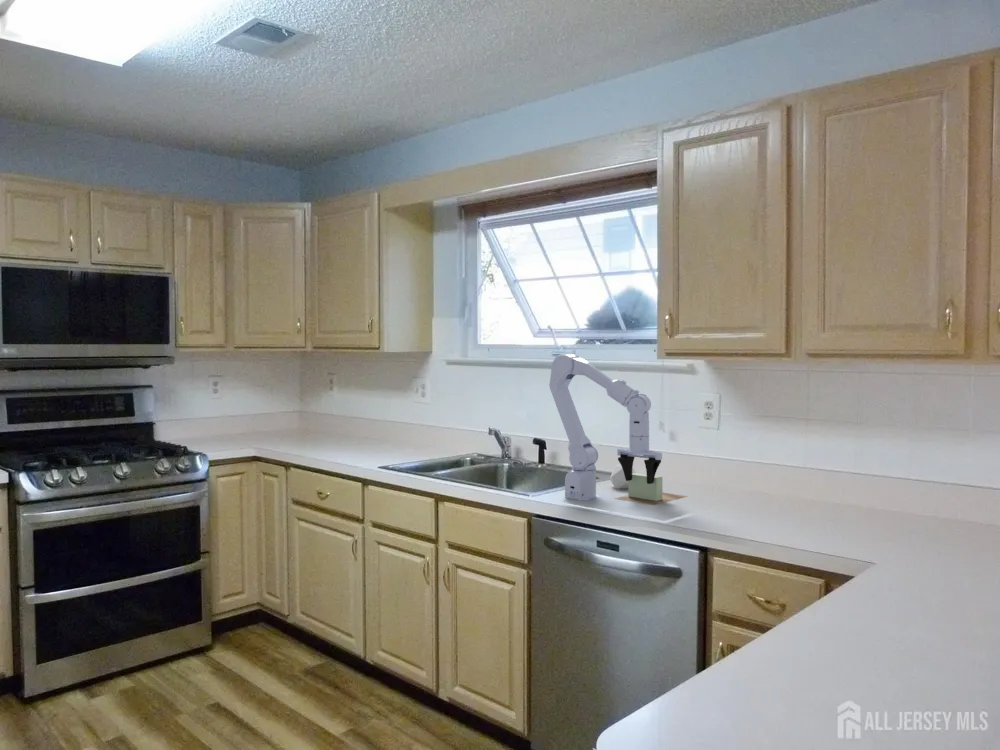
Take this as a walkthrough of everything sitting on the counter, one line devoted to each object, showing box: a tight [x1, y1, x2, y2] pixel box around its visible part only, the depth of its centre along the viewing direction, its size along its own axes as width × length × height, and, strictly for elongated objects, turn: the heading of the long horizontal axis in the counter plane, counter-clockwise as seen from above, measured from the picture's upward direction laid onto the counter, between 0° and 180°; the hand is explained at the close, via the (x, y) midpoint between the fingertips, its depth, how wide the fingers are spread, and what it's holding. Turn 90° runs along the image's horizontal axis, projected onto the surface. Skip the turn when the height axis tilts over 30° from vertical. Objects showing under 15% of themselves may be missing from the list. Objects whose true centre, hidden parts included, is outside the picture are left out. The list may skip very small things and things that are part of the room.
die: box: [609, 464, 637, 490], centre depth 248 cm, size 8×9×10 cm
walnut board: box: [614, 491, 688, 506], centre depth 231 cm, size 18×14×1 cm
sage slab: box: [627, 472, 663, 502], centre depth 229 cm, size 3×10×7 cm, turn 44°
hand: (639, 481), depth 226 cm, fingers open, 7 cm apart
